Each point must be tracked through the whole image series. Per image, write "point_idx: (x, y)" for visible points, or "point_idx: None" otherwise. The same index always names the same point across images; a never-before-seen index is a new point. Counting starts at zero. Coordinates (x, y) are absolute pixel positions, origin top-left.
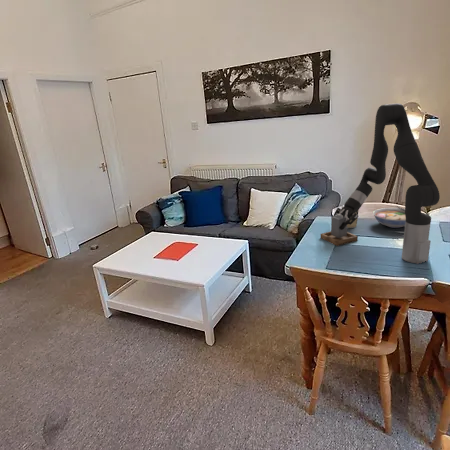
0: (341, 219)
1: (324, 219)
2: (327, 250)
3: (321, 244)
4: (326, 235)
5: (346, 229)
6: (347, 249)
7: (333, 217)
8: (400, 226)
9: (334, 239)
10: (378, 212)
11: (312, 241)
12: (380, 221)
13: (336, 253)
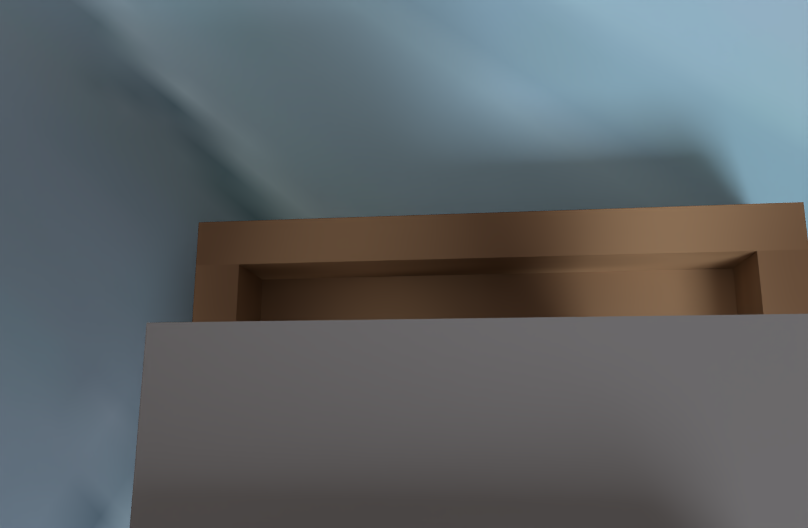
0: (145, 522)
1: None
2: (198, 3)
3: (465, 62)
4: (631, 254)
5: None
6: (28, 306)
7: (649, 331)
8: None
9: (321, 246)
10: None
11: (687, 3)
12: None
13: (29, 53)
